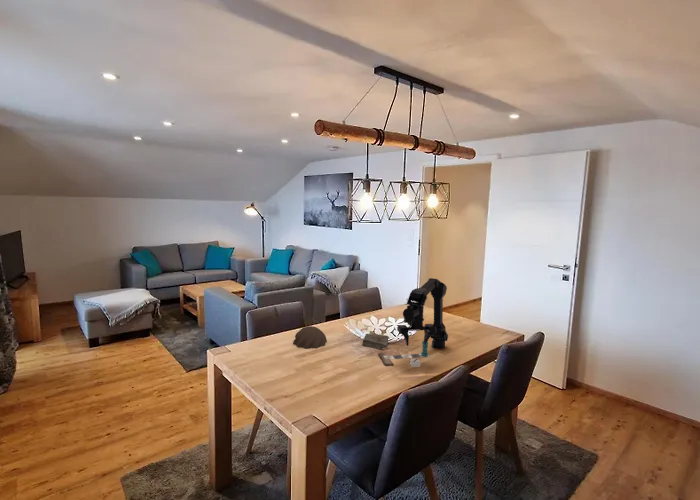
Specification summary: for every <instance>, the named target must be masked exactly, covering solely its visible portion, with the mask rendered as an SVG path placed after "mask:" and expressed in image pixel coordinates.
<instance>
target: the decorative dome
mask: <svg viewBox="0 0 700 500" xmlns="http://www.w3.org/2000/svg"><path fill="white" fill-rule="evenodd" d="M326 343H328V340H327V337H326V334H325V333H324V332H323V331H322V330H321V329H320V328H319V327H316V326H312V325H306V326H303V327H302V328H301V329H300V330H299V331H297V332H296V333H295V336H294V340H293V342H292V344H293V345H295V344H296V345H295V346H296V347H297V348H302V349H305V350H308V349H310V350H311V349H318V348H321V347H325V346H326Z"/></svg>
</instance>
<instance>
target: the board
mask: <svg viewBox="0 0 700 500" xmlns="http://www.w3.org/2000/svg"><path fill="white" fill-rule="evenodd" d="M377 355H378V357H379V358H380V360H381V362H382V363H383V365H384V366H385V367H392V366H393V367H394V366H395V364H394V362H393V360H401V359H419V358H425V357H424V356H421V353H411V354H408V353H407V354H393V355H392V354H391V355H388V354H387V353H386V351H385V352H378V353H377ZM430 357H431V356H430V355H429V354H428V356H427V357H426V358H430Z"/></svg>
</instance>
